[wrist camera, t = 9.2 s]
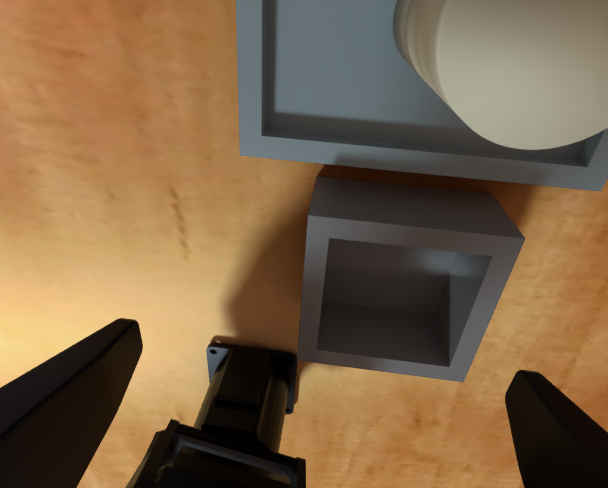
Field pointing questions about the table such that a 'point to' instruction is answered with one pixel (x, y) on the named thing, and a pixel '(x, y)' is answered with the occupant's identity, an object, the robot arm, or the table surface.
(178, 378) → the table surface
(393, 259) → the grey square bin
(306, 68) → the tray
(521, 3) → the dowel
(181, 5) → the table surface
